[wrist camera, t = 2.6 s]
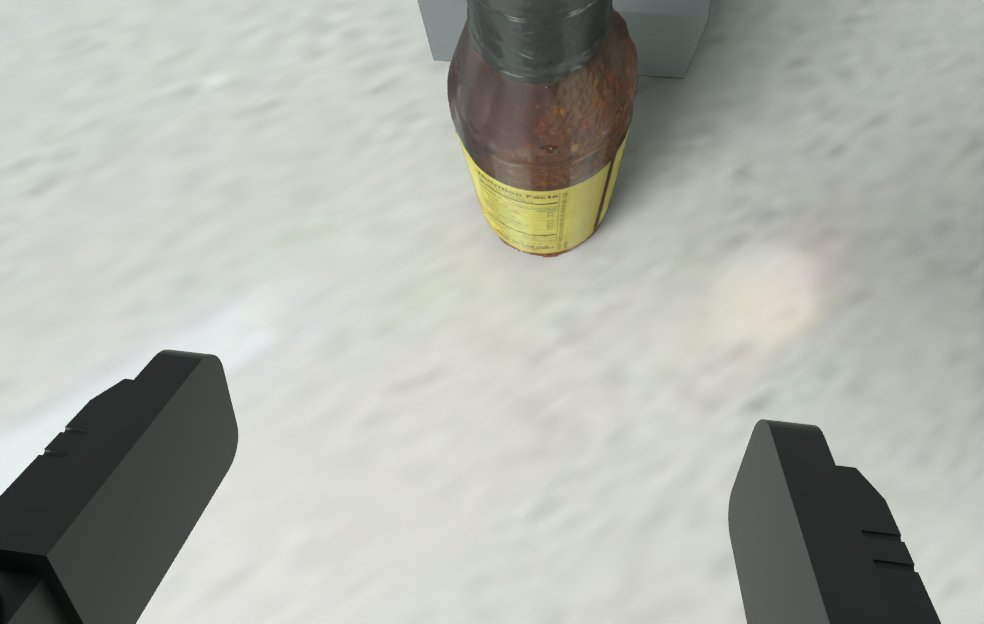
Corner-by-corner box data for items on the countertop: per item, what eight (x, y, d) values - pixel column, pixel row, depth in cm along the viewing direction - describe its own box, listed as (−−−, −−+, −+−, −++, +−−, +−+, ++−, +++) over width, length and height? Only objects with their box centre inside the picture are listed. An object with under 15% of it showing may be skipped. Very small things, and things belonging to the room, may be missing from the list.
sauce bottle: (538, 121, 34) (541, -304, 15) (633, 197, 33) (772, -154, 14) (451, 214, 33) (334, -102, 14) (545, 294, 32) (560, 72, 13)
